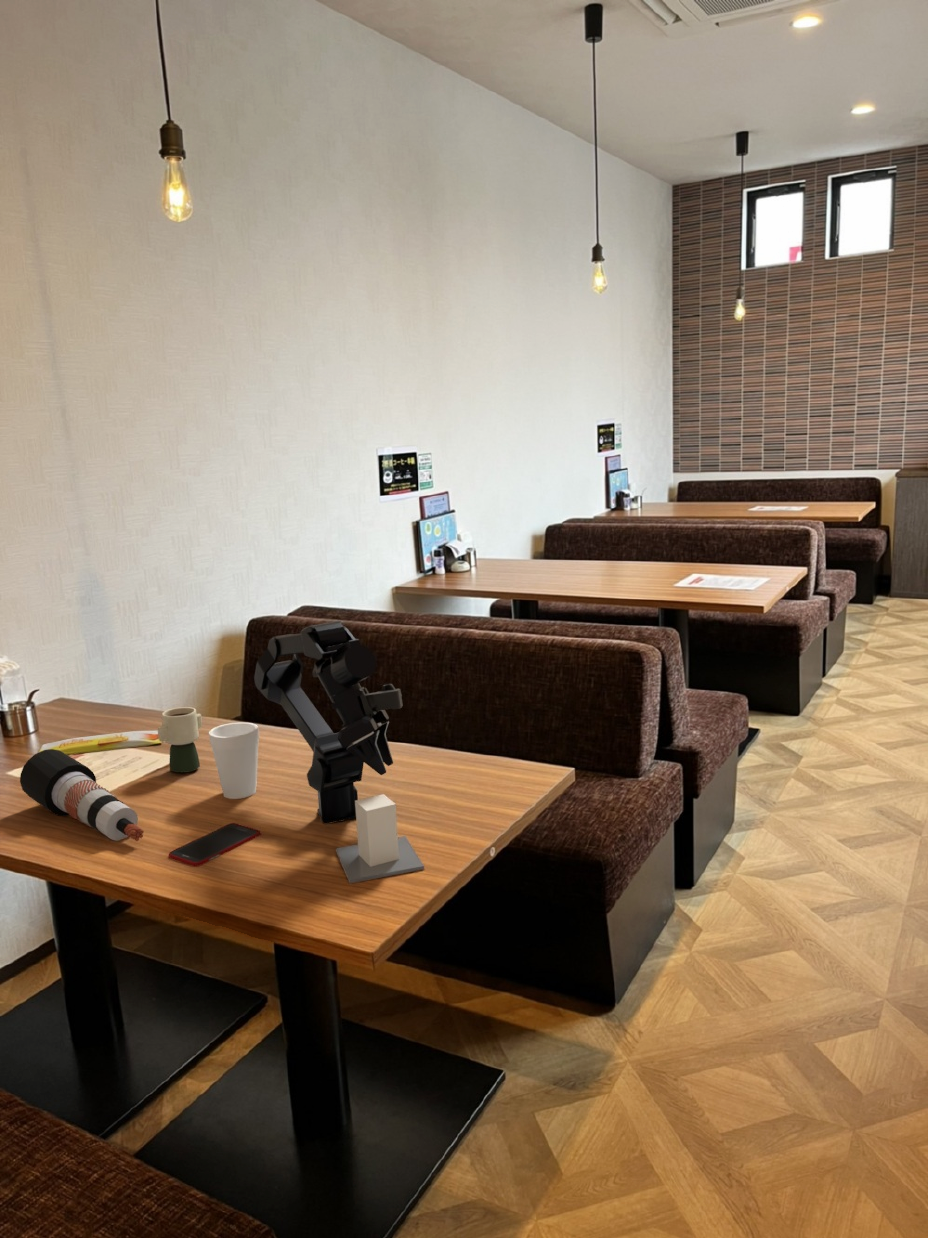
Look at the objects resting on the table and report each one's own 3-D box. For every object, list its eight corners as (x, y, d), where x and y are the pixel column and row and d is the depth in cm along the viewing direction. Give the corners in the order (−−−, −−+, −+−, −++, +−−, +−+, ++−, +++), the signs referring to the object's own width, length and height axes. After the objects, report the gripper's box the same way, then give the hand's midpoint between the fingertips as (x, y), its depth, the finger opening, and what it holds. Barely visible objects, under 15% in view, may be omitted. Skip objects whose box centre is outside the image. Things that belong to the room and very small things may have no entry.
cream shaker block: (358, 854, 153) (355, 800, 152) (386, 847, 156) (383, 793, 154) (370, 866, 149) (366, 811, 147) (399, 858, 151) (395, 804, 149)
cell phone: (263, 835, 165) (262, 830, 165) (196, 869, 153) (196, 863, 153) (233, 826, 169) (232, 821, 169) (166, 858, 157) (166, 853, 157)
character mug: (195, 759, 205) (188, 702, 202) (216, 765, 201) (210, 707, 198) (153, 775, 196) (146, 716, 193) (174, 781, 192) (167, 721, 189)
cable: (129, 874, 162) (100, 837, 156) (38, 809, 183) (9, 774, 177) (173, 832, 167) (147, 794, 161) (80, 773, 188) (54, 738, 183)
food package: (34, 753, 209) (42, 739, 218) (35, 762, 209) (43, 749, 219) (161, 737, 215) (163, 725, 225) (162, 747, 216) (164, 734, 225)
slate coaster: (349, 883, 145) (349, 879, 145) (336, 851, 156) (335, 848, 156) (424, 869, 149) (424, 865, 149) (405, 839, 160) (405, 836, 160)
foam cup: (273, 791, 184) (267, 728, 182) (232, 805, 178) (226, 740, 175) (246, 780, 191) (240, 719, 188) (206, 794, 184) (199, 731, 182)
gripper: (377, 672, 153) (422, 755, 153) (391, 665, 172) (432, 739, 172) (318, 704, 154) (363, 787, 153) (338, 694, 172) (379, 768, 172)
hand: (387, 769), depth 163 cm, fingers open, 9 cm apart
